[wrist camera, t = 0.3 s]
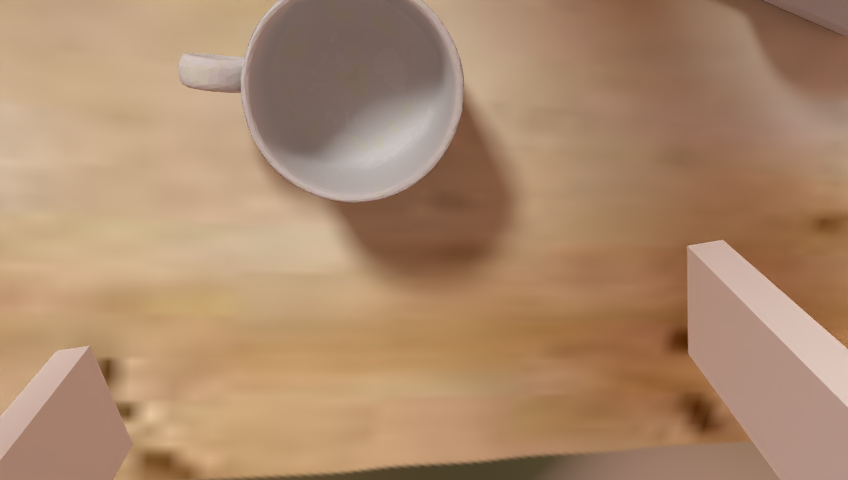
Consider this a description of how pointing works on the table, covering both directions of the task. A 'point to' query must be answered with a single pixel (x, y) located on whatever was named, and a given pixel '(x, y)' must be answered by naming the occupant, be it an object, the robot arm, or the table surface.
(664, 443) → the table surface
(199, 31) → the table surface
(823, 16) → the board
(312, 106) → the teacup
